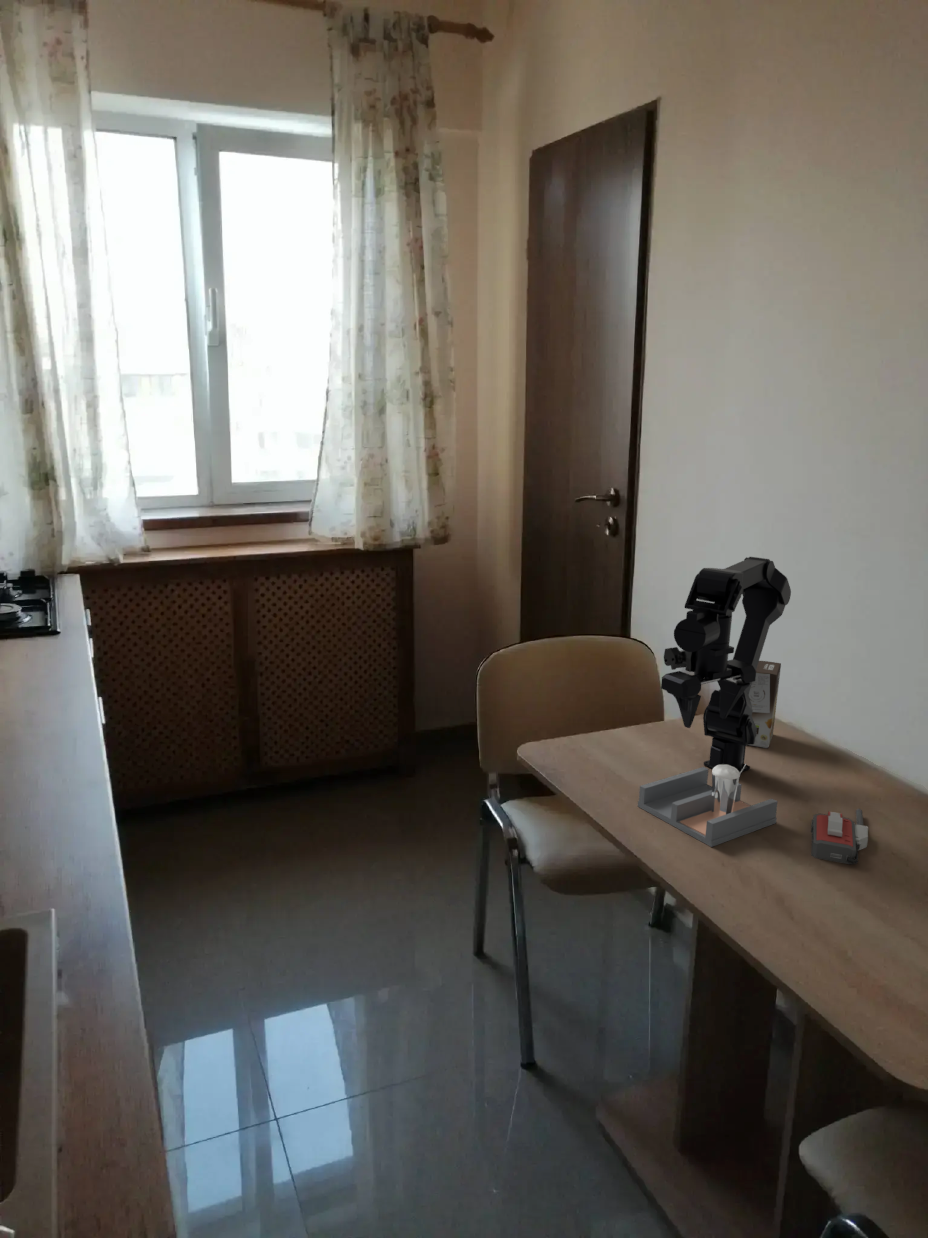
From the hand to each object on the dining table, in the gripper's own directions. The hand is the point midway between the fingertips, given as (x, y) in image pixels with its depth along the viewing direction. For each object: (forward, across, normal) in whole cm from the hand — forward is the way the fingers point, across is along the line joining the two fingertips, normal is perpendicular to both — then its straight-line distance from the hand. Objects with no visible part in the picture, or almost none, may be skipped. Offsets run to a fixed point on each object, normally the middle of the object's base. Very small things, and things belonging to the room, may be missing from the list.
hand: (705, 722), depth 167 cm
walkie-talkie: (+14, -6, +25) cm, 29 cm away
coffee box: (+13, -29, -11) cm, 34 cm away
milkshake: (+12, +7, +12) cm, 18 cm away
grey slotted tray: (+13, +7, +8) cm, 17 cm away
